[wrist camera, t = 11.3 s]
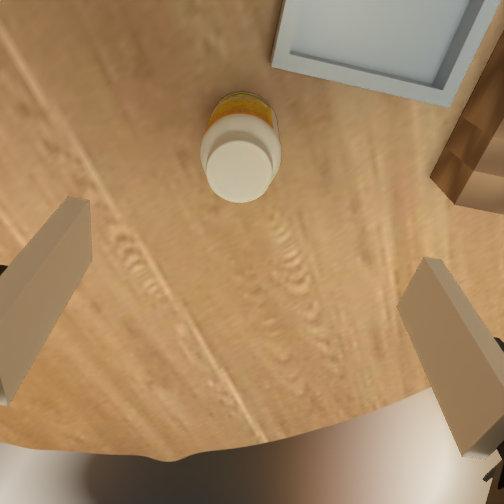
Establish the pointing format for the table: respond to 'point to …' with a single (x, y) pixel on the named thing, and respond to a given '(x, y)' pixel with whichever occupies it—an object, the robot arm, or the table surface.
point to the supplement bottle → (241, 147)
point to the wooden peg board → (478, 145)
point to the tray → (384, 43)
